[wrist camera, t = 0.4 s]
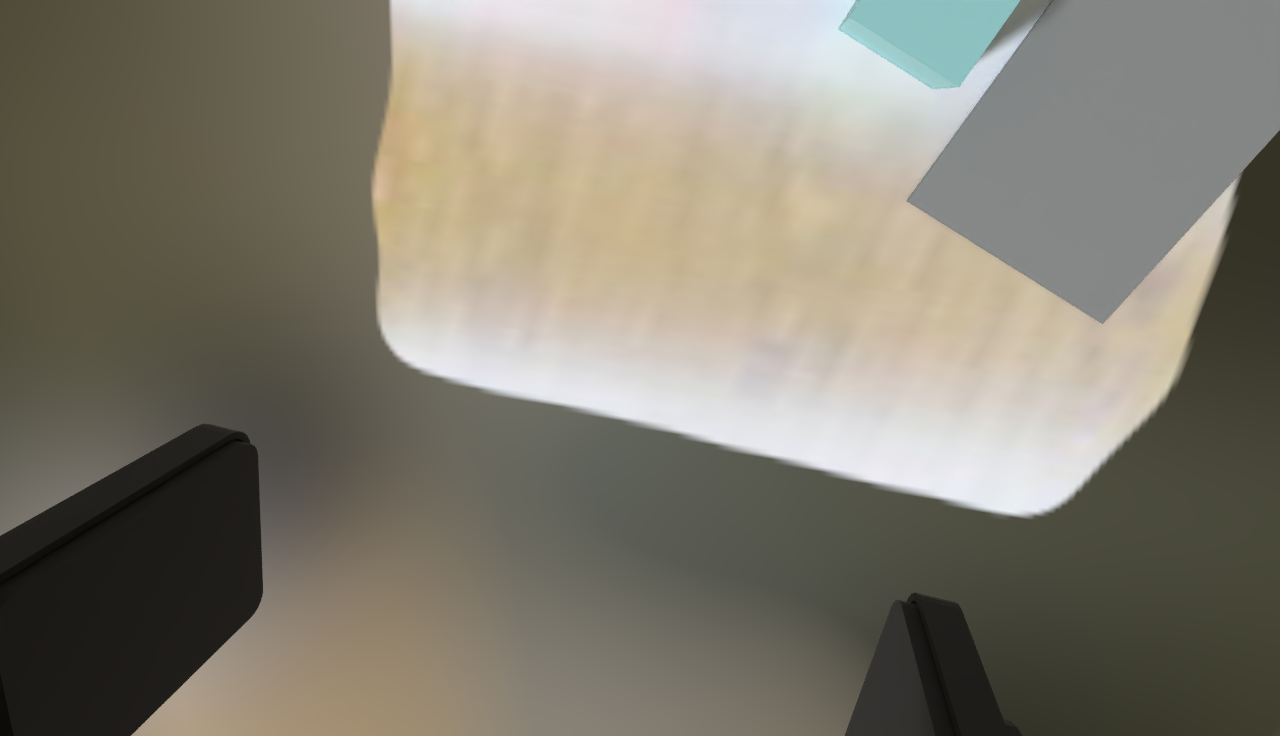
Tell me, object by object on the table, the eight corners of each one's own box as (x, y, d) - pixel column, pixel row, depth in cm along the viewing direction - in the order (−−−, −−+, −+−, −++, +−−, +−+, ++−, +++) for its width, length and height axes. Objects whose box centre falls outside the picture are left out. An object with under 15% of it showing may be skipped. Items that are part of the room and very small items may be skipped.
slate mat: (1129, -107, 29) (1131, -108, 28) (1356, 41, 29) (1360, 41, 29) (906, 200, 34) (907, 201, 34) (1100, 322, 34) (1102, 323, 34)
